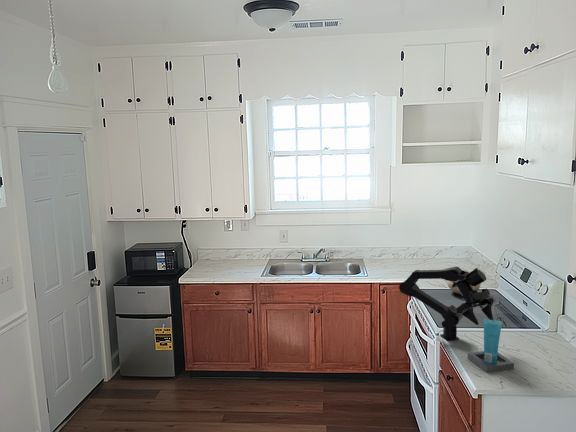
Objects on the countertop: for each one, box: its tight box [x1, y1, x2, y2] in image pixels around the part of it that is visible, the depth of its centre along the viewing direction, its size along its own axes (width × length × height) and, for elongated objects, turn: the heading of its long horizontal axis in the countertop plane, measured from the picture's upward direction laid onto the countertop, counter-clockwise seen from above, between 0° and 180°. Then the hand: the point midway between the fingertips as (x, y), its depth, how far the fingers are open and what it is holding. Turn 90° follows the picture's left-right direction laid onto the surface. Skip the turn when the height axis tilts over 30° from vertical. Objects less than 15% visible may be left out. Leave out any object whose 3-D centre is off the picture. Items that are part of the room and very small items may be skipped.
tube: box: [482, 318, 503, 364], centre depth 203 cm, size 7×5×19 cm, turn 72°
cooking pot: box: [446, 270, 481, 296], centre depth 293 cm, size 25×19×12 cm
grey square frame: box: [467, 350, 515, 373], centre depth 204 cm, size 13×13×2 cm
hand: (485, 322), depth 214 cm, fingers open, 9 cm apart
